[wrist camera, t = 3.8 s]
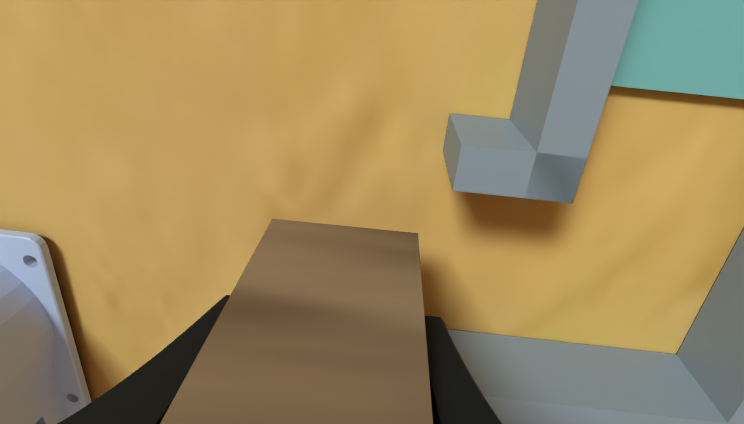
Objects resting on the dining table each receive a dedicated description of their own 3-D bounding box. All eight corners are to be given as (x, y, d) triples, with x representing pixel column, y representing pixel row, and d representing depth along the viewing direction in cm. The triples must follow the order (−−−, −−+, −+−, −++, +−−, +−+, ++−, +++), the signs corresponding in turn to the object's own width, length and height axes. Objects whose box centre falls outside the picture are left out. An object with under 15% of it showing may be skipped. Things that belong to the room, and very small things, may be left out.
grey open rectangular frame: (695, 380, 17) (748, 451, 15) (409, 349, 18) (410, 413, 15) (1051, -233, 9) (1311, -322, 7) (516, -282, 9) (561, -388, 7)
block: (401, 344, 14) (403, 631, 8) (274, 331, 14) (175, 605, 8) (417, 233, 12) (438, 489, 6) (272, 218, 12) (140, 459, 6)
